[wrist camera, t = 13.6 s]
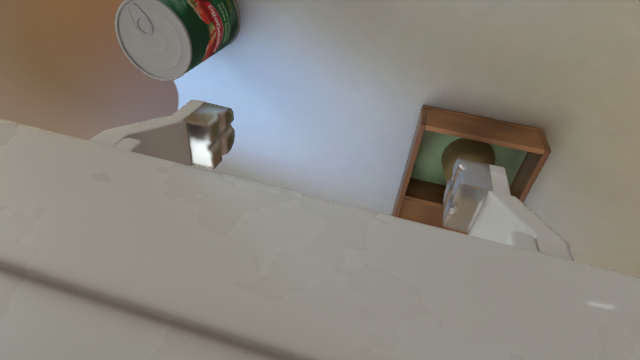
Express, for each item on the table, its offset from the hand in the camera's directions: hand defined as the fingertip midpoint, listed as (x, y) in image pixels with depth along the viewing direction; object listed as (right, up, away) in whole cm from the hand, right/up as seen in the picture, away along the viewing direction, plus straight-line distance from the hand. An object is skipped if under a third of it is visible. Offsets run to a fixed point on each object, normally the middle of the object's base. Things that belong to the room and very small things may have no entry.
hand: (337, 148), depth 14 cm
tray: (+17, -2, +36) cm, 40 cm away
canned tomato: (-14, +18, +31) cm, 39 cm away
